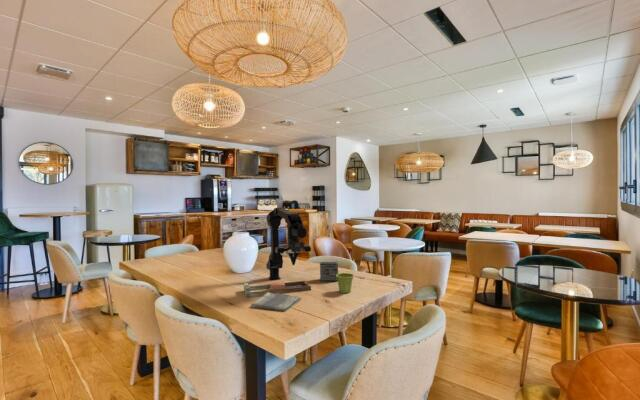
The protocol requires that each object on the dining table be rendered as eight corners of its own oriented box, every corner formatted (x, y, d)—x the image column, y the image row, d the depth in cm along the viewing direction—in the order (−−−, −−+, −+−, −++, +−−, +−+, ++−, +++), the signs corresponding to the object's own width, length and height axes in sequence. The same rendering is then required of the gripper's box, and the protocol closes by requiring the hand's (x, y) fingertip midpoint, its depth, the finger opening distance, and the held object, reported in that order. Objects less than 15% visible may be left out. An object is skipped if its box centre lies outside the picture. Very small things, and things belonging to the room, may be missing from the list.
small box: (338, 279, 192) (338, 261, 192) (338, 281, 185) (337, 264, 185) (321, 278, 193) (320, 261, 193) (320, 281, 186) (319, 263, 186)
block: (270, 289, 172) (269, 282, 172) (282, 288, 174) (282, 281, 174) (271, 293, 166) (271, 285, 166) (285, 292, 168) (284, 284, 167)
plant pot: (356, 290, 169) (356, 273, 168) (350, 295, 160) (350, 278, 160) (340, 288, 172) (339, 272, 172) (333, 293, 164) (333, 276, 164)
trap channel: (243, 290, 170) (243, 283, 170) (304, 284, 181) (304, 277, 181) (246, 297, 159) (246, 289, 159) (311, 290, 170) (310, 282, 170)
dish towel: (285, 313, 138) (285, 306, 138) (250, 308, 144) (249, 301, 144) (302, 300, 155) (302, 293, 155) (270, 296, 162) (270, 290, 161)
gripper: (279, 239, 162) (279, 269, 162) (313, 237, 168) (314, 266, 168) (275, 236, 172) (275, 265, 173) (307, 234, 178) (308, 262, 179)
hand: (293, 264), depth 173 cm, fingers closed
